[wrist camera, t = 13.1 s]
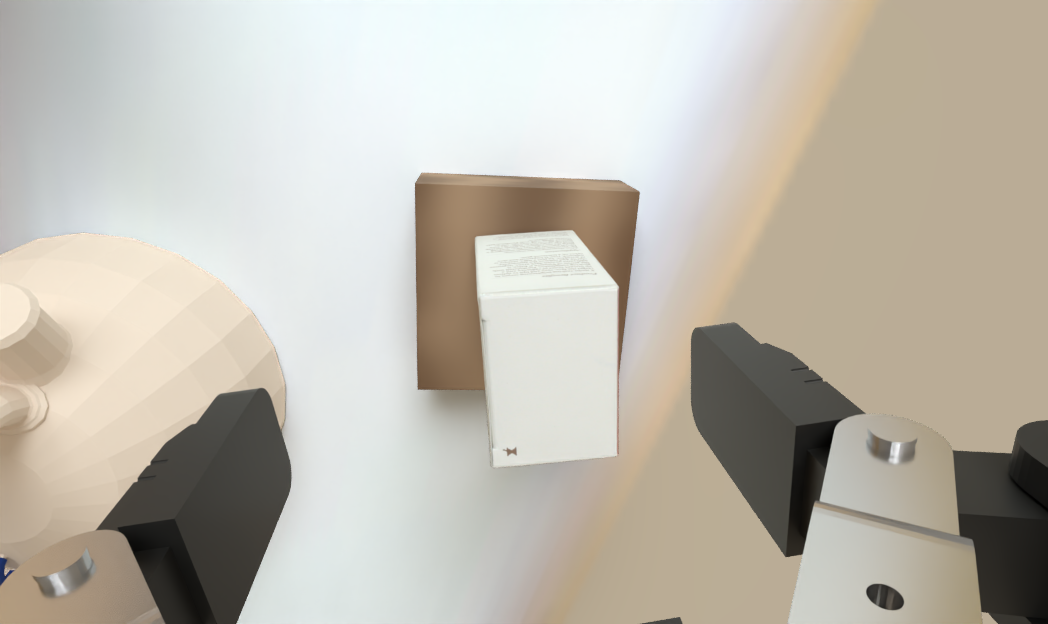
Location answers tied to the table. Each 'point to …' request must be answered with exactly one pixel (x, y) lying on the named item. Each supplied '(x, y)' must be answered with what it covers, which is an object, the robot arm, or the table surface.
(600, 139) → the table surface
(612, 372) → the small box
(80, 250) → the kettle
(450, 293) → the walnut block
